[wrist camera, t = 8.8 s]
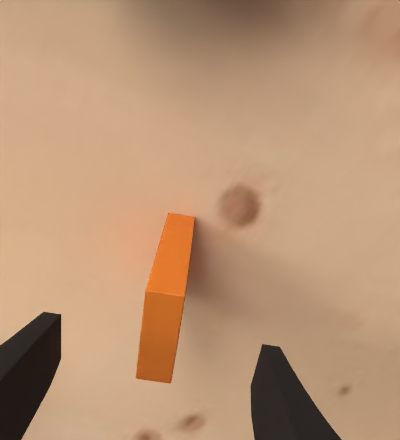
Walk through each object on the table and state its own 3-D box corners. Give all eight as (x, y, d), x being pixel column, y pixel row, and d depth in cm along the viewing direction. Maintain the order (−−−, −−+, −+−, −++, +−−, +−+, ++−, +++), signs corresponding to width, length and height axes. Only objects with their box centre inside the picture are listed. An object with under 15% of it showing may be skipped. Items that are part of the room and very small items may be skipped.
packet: (195, 216, 20) (185, 296, 13) (184, 284, 21) (170, 384, 15) (168, 212, 20) (145, 290, 13) (159, 281, 21) (135, 379, 15)
